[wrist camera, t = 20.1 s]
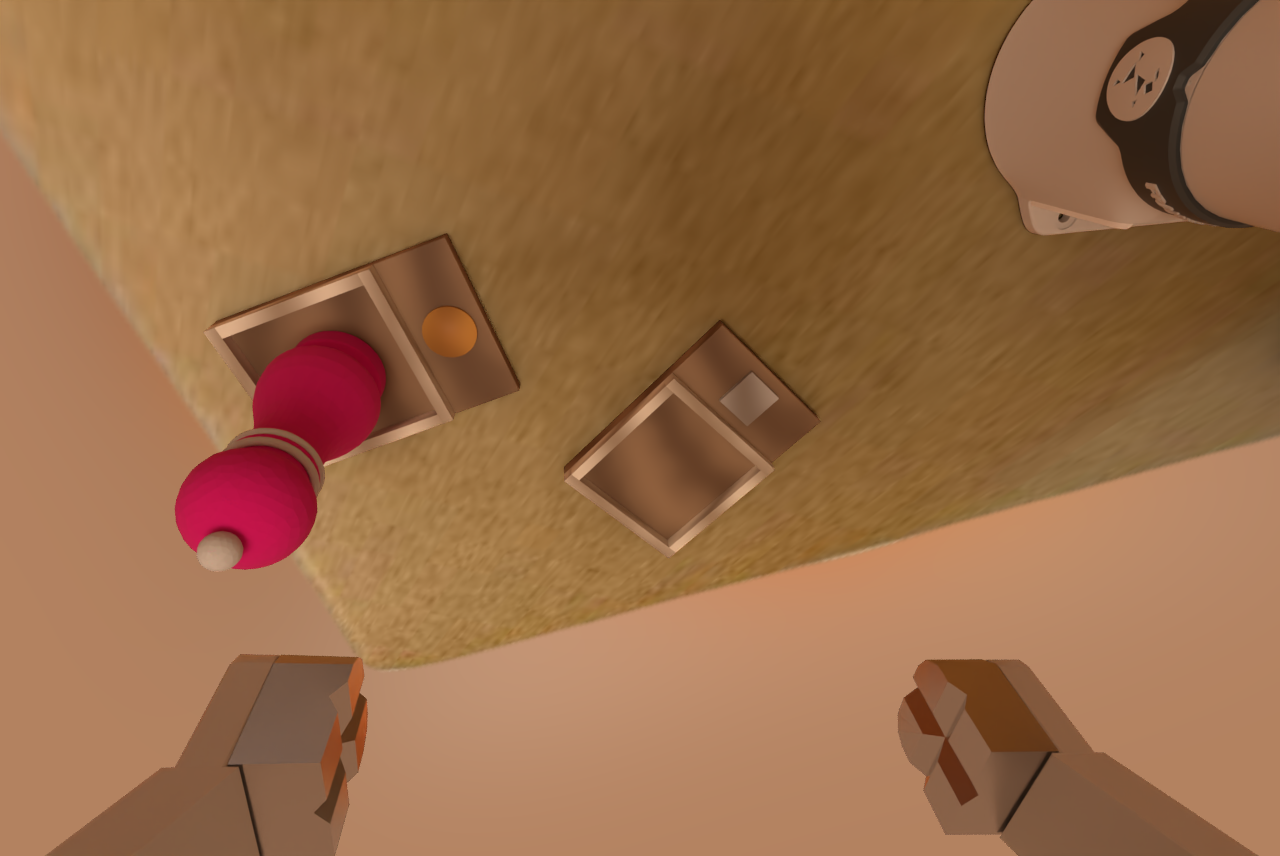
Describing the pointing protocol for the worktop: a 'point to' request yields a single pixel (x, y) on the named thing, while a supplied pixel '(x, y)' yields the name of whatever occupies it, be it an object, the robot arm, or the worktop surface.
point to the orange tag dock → (386, 337)
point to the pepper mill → (282, 454)
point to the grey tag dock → (691, 442)
